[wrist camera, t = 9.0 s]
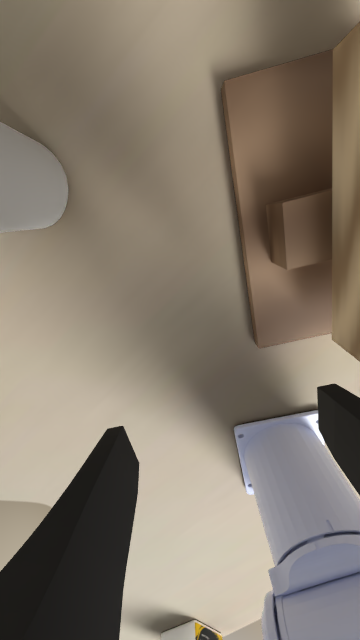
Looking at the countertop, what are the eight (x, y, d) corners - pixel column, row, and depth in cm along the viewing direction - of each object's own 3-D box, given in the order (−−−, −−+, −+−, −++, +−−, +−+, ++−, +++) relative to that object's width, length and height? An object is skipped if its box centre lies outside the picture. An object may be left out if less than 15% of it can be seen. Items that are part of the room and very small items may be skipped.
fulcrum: (412, 308, 19) (461, 327, 16) (254, 342, 20) (270, 367, 16) (451, 23, 13) (545, -42, 10) (220, 89, 14) (235, 50, 10)
